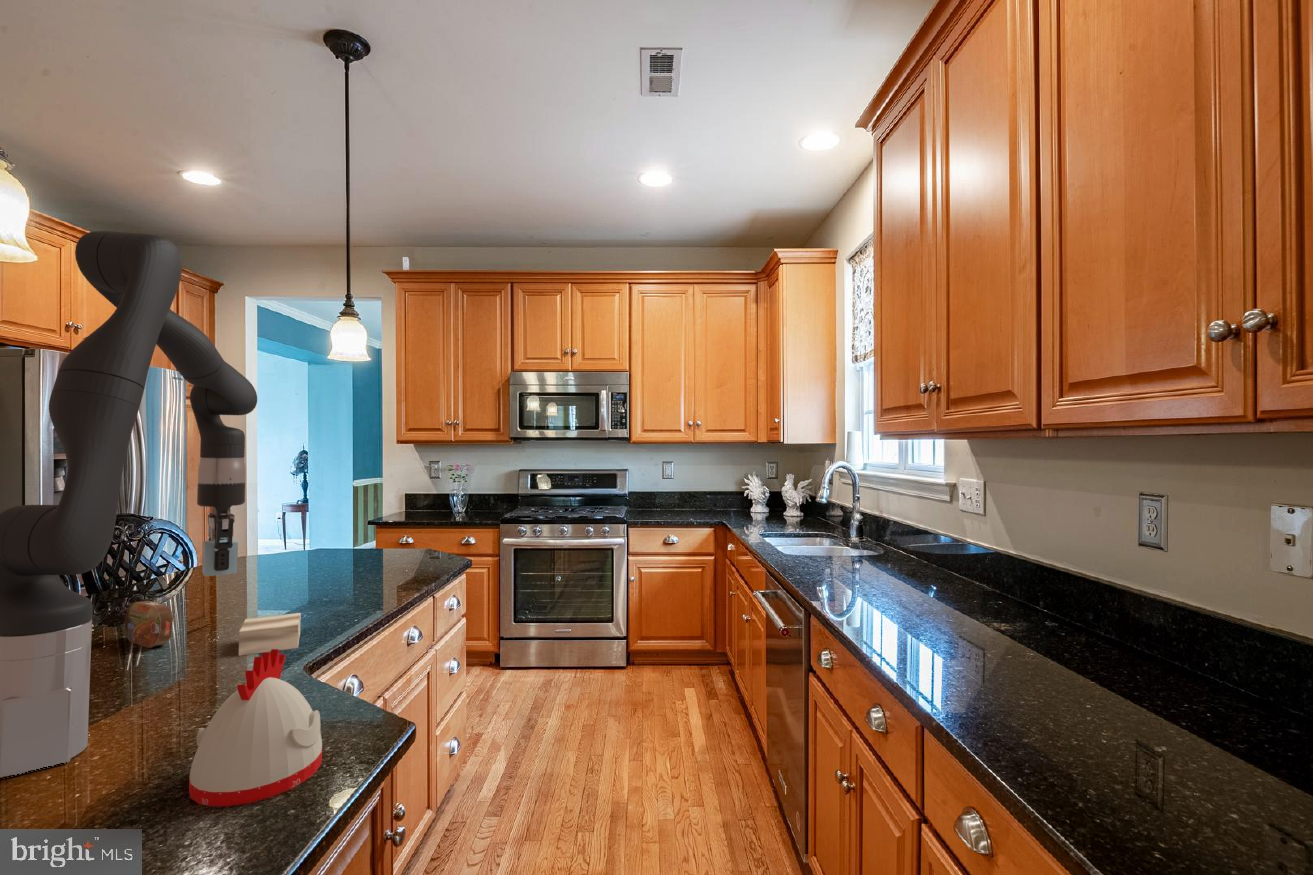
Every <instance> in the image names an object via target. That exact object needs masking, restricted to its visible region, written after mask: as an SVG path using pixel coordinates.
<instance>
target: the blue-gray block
mask: <svg viewBox="0 0 1313 875" xmlns="http://www.w3.org/2000/svg"><path fill="white" fill-rule="evenodd" d="M221 542H227V540H220V542H219V543H221ZM232 543H233V546H232V548H231V549H230V550H229V568H228V569H227V570H222V571H216V570H215V569H214V559H215V551H214V549H213V548H214V541H209V540H206V541H205V540H204V541H202V559H201V560H202V562H201V563H202V564H201V566H202V567H201V568H202V569H201V573H202V574H203V576H204V577H213V576H223V575H231V574H232V575H233V574H237V573H238V554H239V553H238V549H239V541H237V540H236V539H235V538H232Z"/></svg>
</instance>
